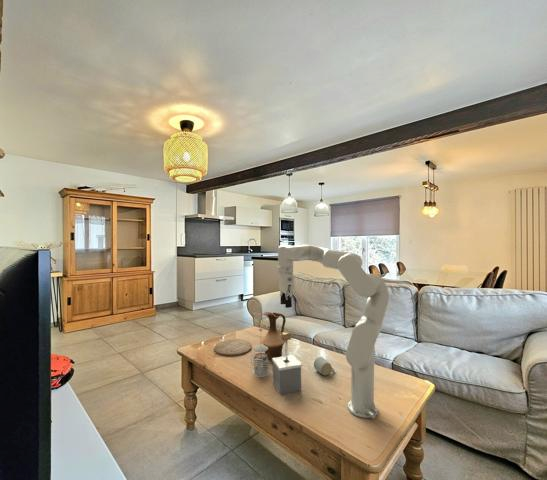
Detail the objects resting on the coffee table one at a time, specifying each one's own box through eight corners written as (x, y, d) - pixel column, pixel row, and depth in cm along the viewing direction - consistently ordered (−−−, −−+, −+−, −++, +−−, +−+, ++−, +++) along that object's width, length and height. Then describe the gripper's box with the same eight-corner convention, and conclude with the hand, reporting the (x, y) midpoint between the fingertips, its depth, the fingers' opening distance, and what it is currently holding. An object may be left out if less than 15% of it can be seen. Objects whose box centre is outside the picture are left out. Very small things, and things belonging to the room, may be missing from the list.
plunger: (293, 369, 143) (292, 334, 142) (283, 371, 141) (283, 335, 141) (289, 365, 147) (289, 331, 147) (280, 367, 146) (279, 332, 145)
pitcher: (289, 352, 186) (289, 309, 185) (284, 363, 170) (284, 317, 169) (264, 349, 191) (263, 307, 190) (256, 360, 174) (255, 315, 173)
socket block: (301, 390, 141) (301, 364, 140) (279, 395, 137) (279, 368, 137) (290, 375, 156) (289, 351, 155) (269, 379, 152) (269, 354, 152)
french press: (273, 372, 160) (273, 328, 159) (258, 380, 151) (258, 333, 150) (261, 366, 166) (260, 324, 166) (246, 374, 158) (245, 329, 157)
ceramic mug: (321, 377, 153) (322, 363, 153) (313, 371, 160) (313, 357, 160) (337, 373, 158) (337, 360, 157) (328, 367, 165) (328, 354, 165)
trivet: (206, 351, 190) (206, 348, 190) (232, 339, 211) (232, 336, 211) (234, 360, 176) (234, 357, 176) (259, 346, 196) (259, 343, 196)
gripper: (299, 271, 136) (299, 309, 136) (286, 267, 152) (286, 301, 153) (284, 272, 133) (285, 310, 134) (273, 268, 150) (273, 302, 150)
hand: (286, 305), depth 143 cm, fingers open, 6 cm apart
